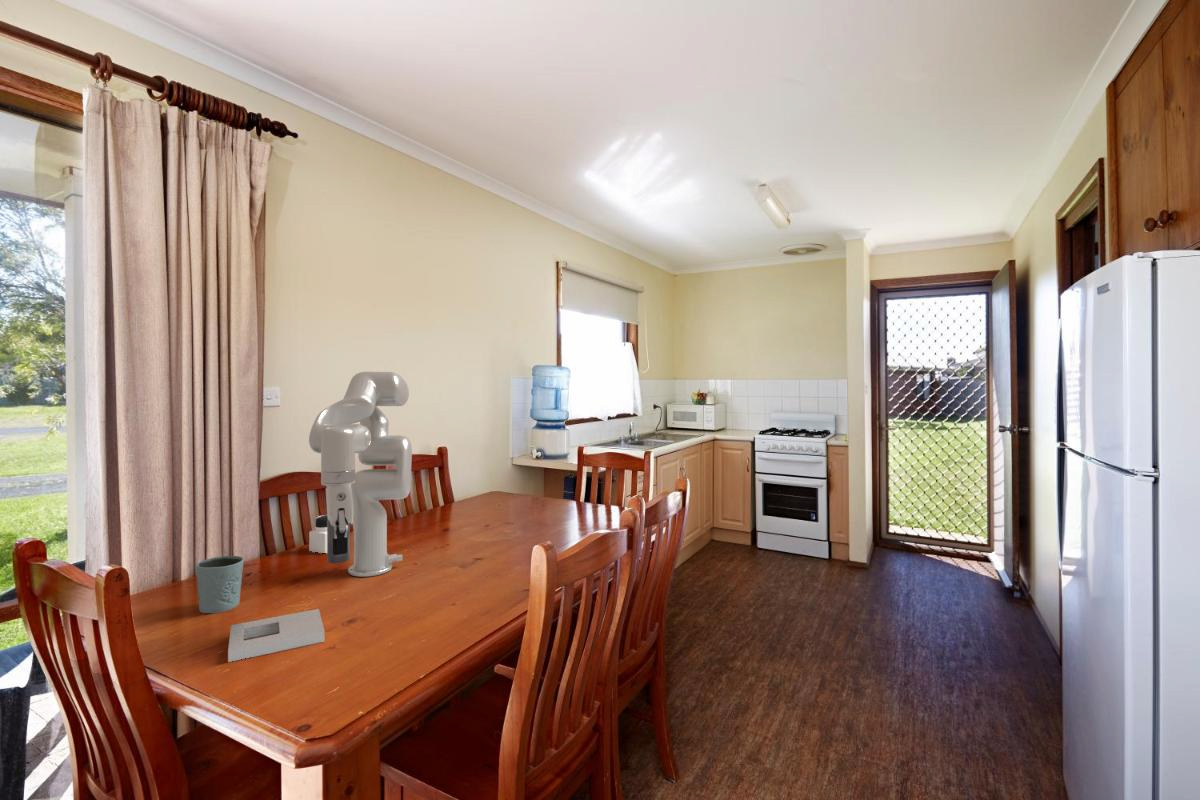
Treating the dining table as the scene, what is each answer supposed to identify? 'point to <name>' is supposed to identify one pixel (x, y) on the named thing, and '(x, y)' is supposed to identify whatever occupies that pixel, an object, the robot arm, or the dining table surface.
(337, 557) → the dark grey peg block
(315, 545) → the medicine bottle
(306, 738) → the dining table surface
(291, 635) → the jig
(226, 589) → the teal embossed planter pot
